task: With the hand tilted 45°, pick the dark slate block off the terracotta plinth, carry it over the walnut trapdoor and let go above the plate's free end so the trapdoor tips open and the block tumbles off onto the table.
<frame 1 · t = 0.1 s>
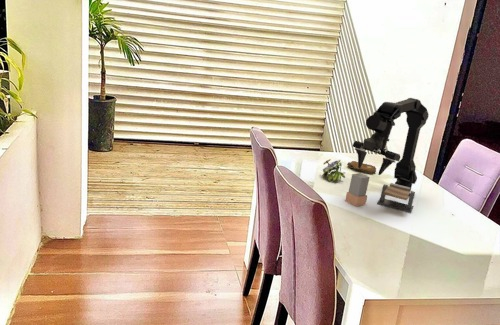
hand: (369, 171, 186), 15 cm above the table, tool pointing down, fingers open, 9 cm apart
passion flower: (332, 179, 222), on the table
trapdoor frame: (394, 206, 196), on the table
trapdoor: (397, 191, 191), point 7 cm above the table, hinge at 0.0°
slate block: (357, 193, 193), point 4 cm above the table, touching plinth
plinth: (355, 202, 194), on the table
decorative rock: (360, 171, 242), on the table
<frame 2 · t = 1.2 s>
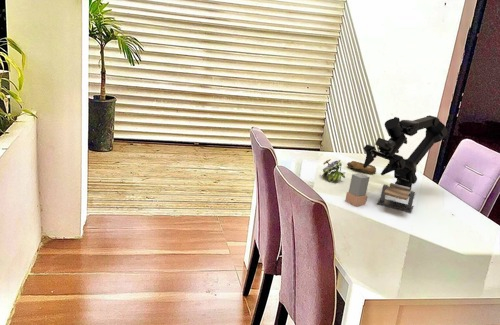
hand: (372, 171, 195), 13 cm above the table, tool tilted 45°, fingers open, 9 cm apart
nothing on the table moved.
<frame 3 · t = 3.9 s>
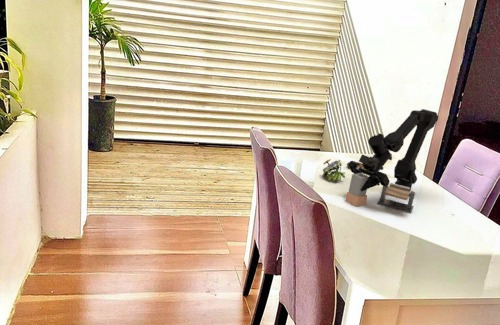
hand: (356, 188, 192), 7 cm above the table, tool tilted 45°, fingers closed on slate block, 5 cm apart
slate block: (357, 193, 193), point 4 cm above the table, touching gripper, plinth
everything else where it was.
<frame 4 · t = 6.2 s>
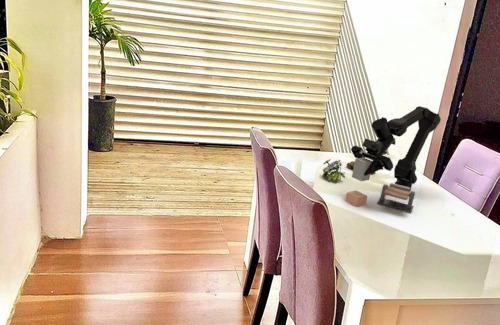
hand: (359, 172, 190), 13 cm above the table, tool tilted 45°, fingers closed on slate block, 5 cm apart
slate block: (360, 178, 191), point 11 cm above the table, touching gripper
everything else where it was.
when the fingers open (13 cm above the table, at t = 8.8 s): slate block drops 9 cm and tips over, point 2 cm above the table.
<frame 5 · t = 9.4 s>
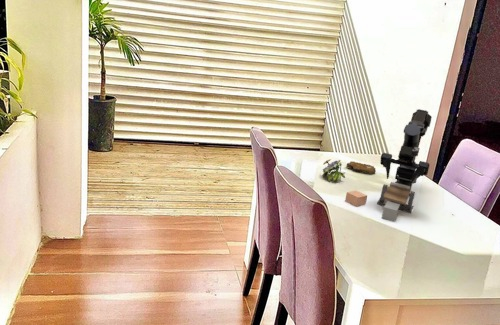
hand: (399, 181, 185), 14 cm above the table, tool tilted 45°, fingers open, 9 cm apart
trapdoor: (397, 193, 191), point 7 cm above the table, hinge at -11.6°
slate block: (392, 208, 187), point 2 cm above the table, tilted 91°
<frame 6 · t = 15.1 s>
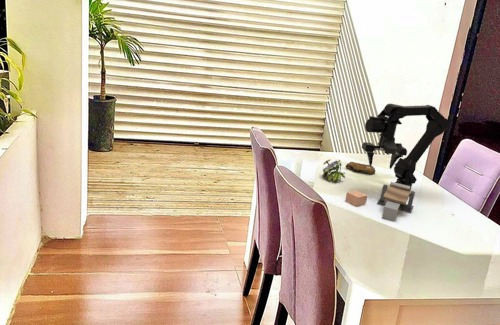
hand: (380, 167, 207), 12 cm above the table, tool pointing down, fingers open, 9 cm apart
at the end: slate block inside the target area on the table beside the trapdoor (1.2 cm from its centre), point 2.1 cm above the table; the gripper is holding nothing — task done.
